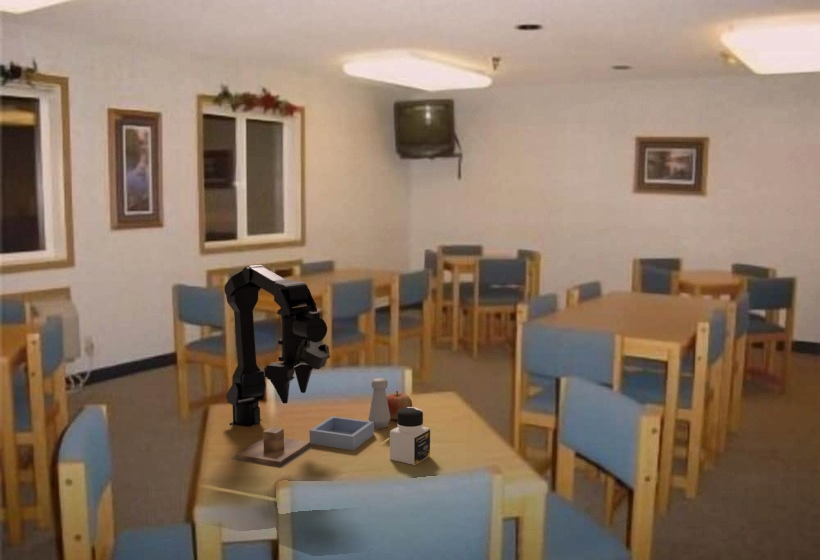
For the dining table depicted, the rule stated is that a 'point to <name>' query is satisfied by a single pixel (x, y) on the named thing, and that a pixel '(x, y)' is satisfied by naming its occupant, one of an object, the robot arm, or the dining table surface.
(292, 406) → the dining table surface
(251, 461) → the mat
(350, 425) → the blue-grey open box
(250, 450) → the lid
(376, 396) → the salt shaker
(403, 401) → the apple
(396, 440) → the medicine bottle
